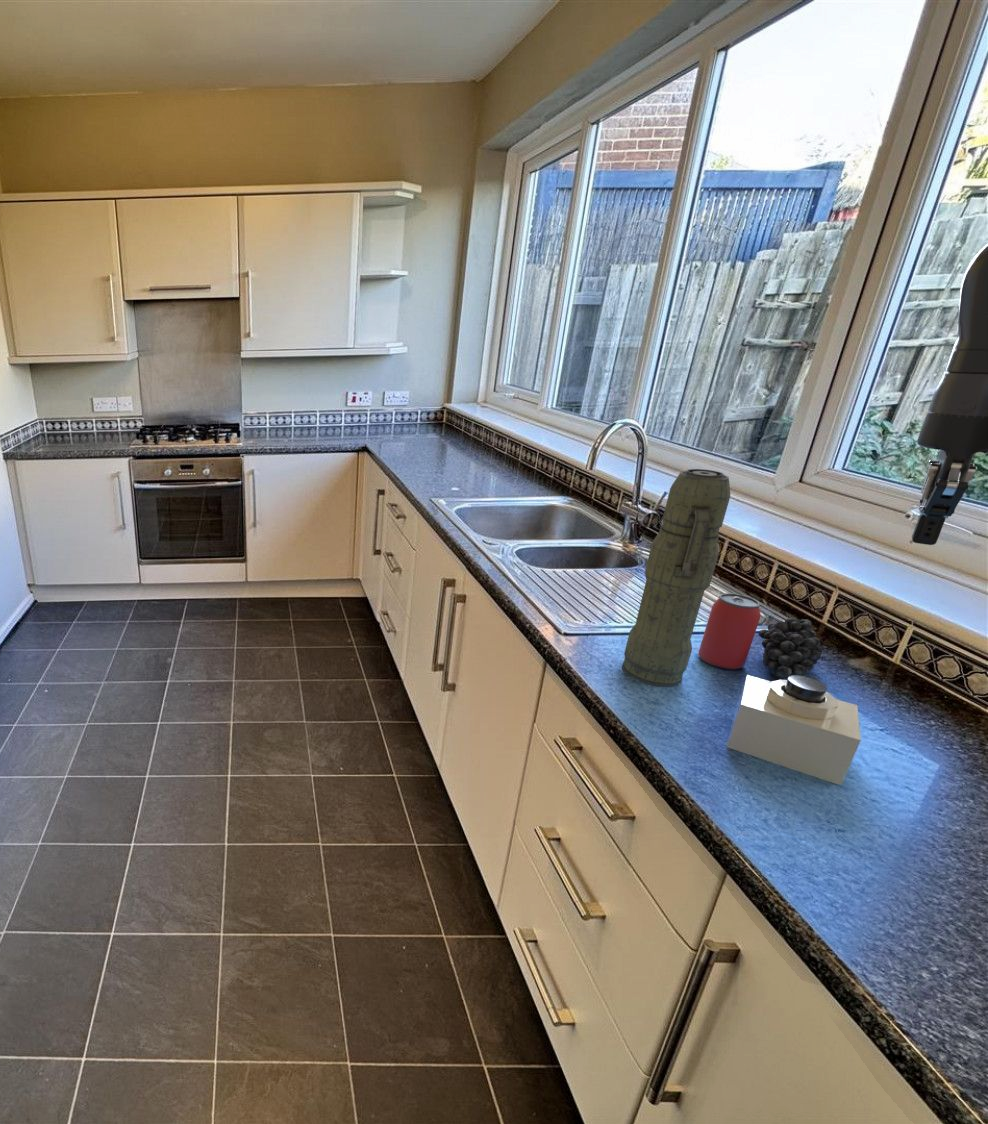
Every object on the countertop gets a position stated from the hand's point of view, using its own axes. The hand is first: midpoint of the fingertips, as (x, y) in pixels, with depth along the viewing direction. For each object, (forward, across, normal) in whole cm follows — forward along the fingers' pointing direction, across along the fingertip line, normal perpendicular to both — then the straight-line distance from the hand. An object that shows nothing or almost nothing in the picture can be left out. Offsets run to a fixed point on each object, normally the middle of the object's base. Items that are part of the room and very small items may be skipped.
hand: (922, 542), depth 82 cm
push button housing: (+28, -15, +7) cm, 33 cm away
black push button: (+20, -15, +7) cm, 26 cm away
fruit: (+28, +12, +10) cm, 32 cm away
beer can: (+28, +8, +18) cm, 34 cm away
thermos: (+28, -4, +26) cm, 38 cm away
